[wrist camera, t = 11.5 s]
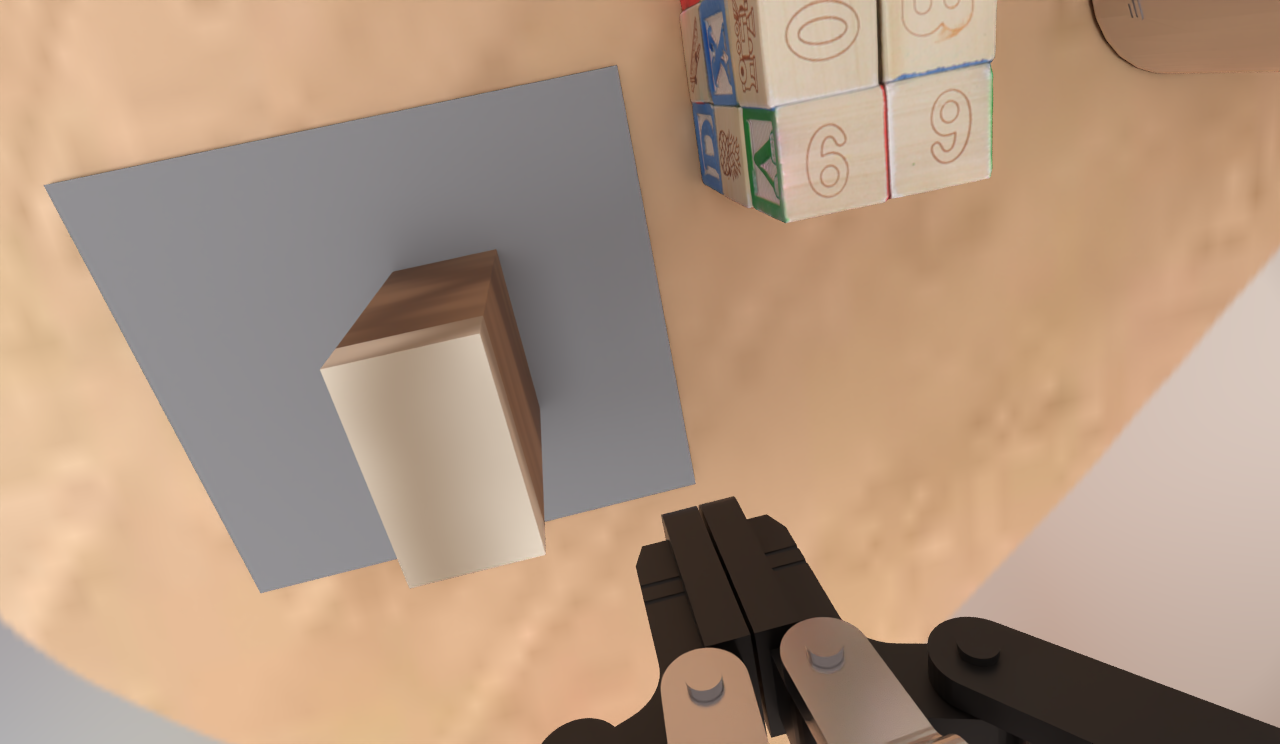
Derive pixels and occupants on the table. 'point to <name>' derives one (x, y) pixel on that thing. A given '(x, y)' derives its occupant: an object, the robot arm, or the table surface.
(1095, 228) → the table surface
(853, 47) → the stack of blocks
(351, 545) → the mat
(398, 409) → the walnut block
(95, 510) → the table surface
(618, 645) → the table surface
